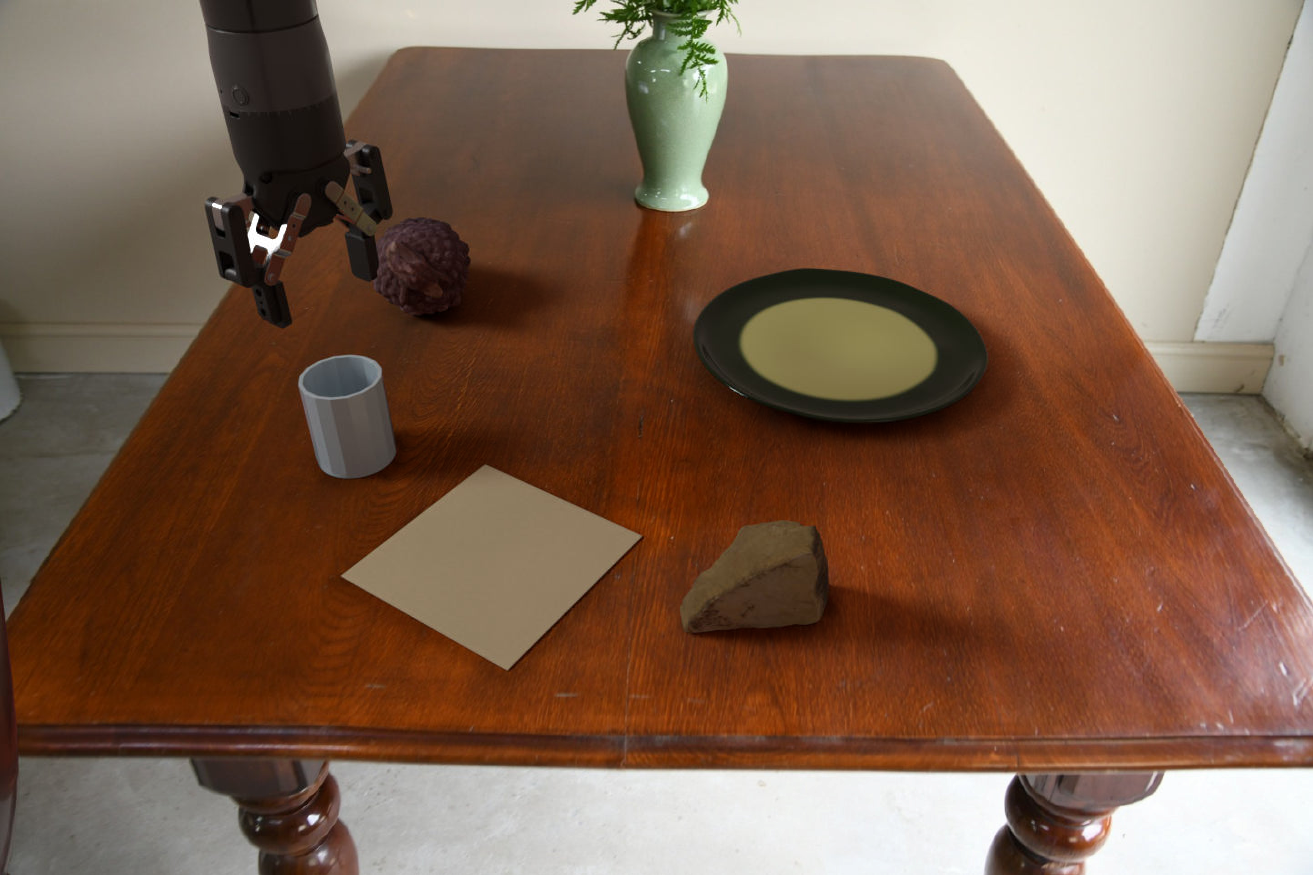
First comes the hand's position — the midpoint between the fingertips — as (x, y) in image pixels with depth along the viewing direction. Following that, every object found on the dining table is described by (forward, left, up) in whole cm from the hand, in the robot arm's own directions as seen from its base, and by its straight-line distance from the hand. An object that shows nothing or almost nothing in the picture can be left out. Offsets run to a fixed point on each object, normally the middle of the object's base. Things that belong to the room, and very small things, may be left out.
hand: (324, 300), depth 78 cm
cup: (0, 0, -15) cm, 15 cm away
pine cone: (+23, +14, -15) cm, 31 cm away
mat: (-3, -18, -15) cm, 24 cm away
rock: (+3, -37, -15) cm, 40 cm away
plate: (+37, -27, -15) cm, 48 cm away
